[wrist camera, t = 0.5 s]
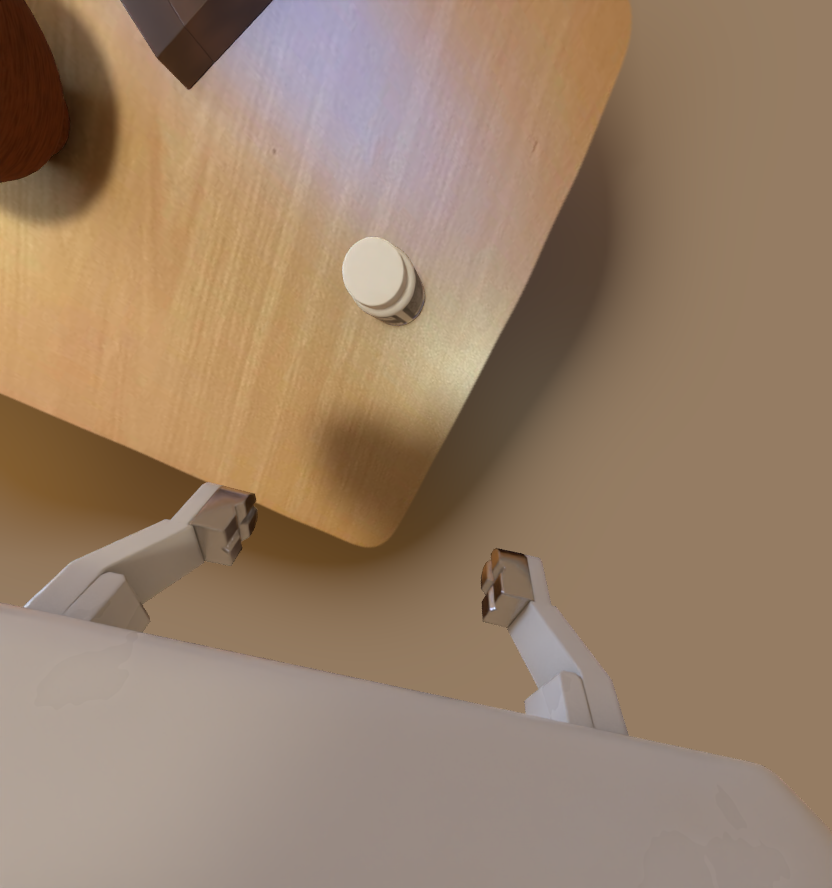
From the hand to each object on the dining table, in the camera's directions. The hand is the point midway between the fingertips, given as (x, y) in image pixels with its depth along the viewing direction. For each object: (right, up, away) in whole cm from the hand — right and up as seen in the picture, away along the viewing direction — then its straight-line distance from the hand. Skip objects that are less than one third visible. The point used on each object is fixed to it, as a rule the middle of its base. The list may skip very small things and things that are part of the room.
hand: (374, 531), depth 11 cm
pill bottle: (0, +16, +18) cm, 24 cm away
